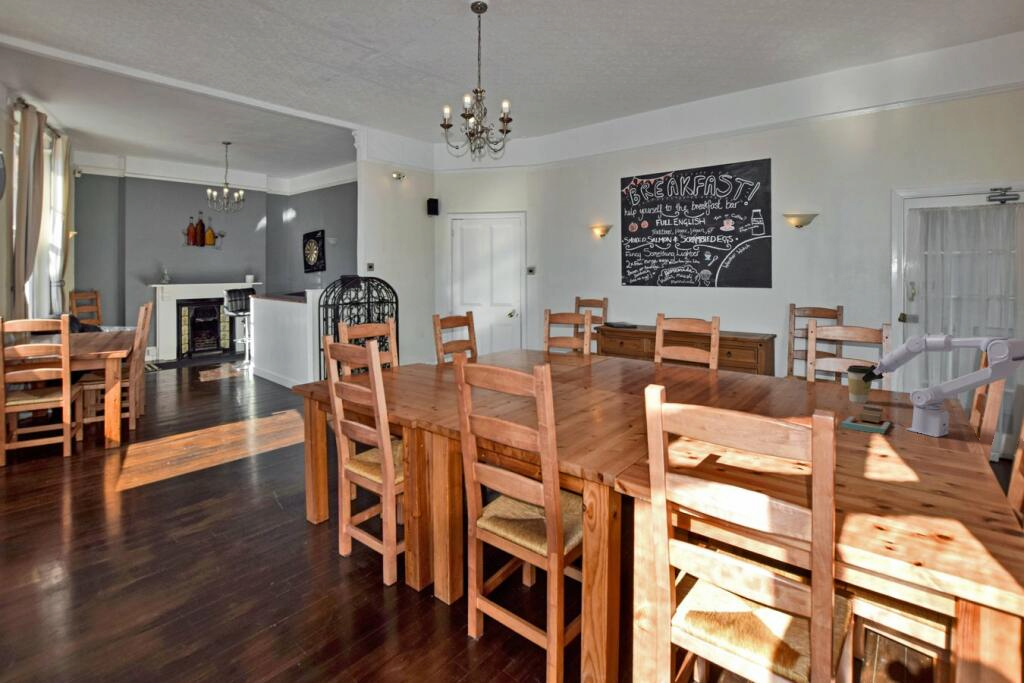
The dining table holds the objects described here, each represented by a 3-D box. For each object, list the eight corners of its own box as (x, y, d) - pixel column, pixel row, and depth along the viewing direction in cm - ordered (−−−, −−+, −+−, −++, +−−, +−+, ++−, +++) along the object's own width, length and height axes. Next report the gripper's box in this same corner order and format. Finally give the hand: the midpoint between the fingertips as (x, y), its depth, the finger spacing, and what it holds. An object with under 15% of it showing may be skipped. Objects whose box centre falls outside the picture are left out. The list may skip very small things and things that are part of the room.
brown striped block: (862, 417, 202) (863, 406, 201) (881, 420, 198) (882, 408, 197) (859, 421, 197) (860, 409, 196) (878, 424, 193) (879, 412, 192)
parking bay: (849, 419, 200) (850, 414, 200) (889, 425, 191) (890, 420, 191) (841, 427, 189) (841, 422, 189) (883, 434, 181) (883, 429, 181)
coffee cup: (877, 404, 221) (880, 369, 220) (853, 404, 222) (856, 369, 220) (862, 398, 231) (865, 364, 229) (839, 398, 231) (842, 365, 229)
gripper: (898, 343, 196) (870, 363, 207) (879, 355, 189) (851, 375, 200) (914, 358, 193) (884, 377, 204) (895, 370, 186) (865, 390, 197)
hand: (869, 377), depth 201 cm, fingers open, 7 cm apart
